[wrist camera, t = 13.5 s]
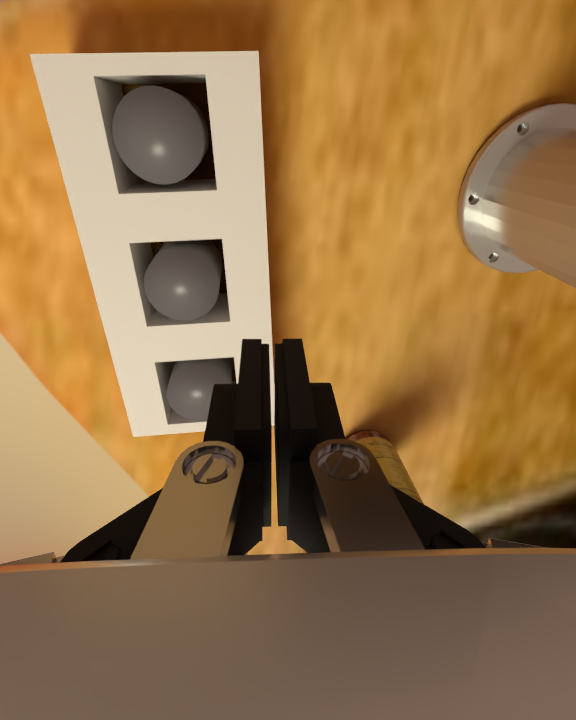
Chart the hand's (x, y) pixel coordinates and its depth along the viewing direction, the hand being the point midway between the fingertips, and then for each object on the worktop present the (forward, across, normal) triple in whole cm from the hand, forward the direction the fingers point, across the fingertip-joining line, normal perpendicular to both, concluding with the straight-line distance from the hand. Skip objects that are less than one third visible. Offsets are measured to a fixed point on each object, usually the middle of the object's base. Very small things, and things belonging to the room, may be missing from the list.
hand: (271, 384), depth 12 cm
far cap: (+23, +6, +12) cm, 27 cm away
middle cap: (+23, +6, +3) cm, 24 cm away
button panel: (+24, +6, +4) cm, 25 cm away
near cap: (+23, +6, -6) cm, 24 cm away
